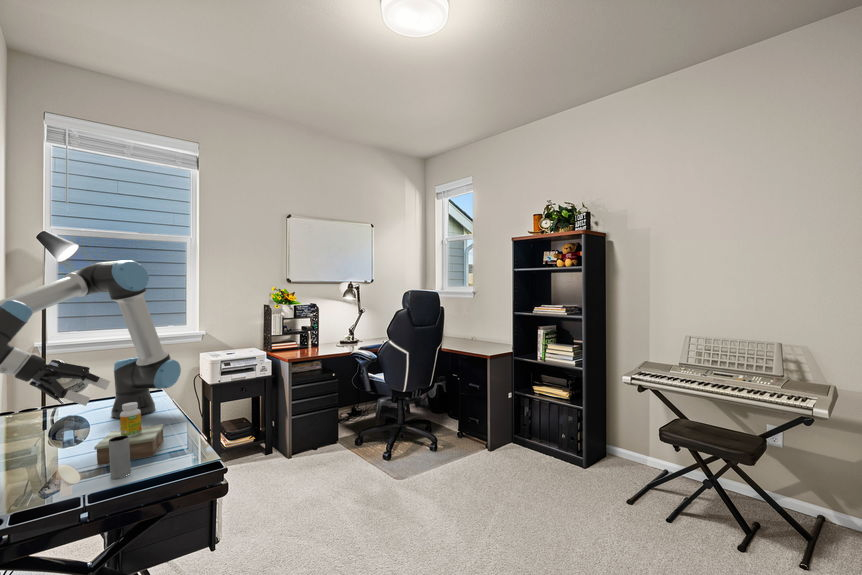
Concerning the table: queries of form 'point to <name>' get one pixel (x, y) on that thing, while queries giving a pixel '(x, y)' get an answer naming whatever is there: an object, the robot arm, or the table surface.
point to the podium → (133, 444)
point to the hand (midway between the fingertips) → (97, 393)
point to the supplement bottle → (130, 420)
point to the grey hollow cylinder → (119, 457)
